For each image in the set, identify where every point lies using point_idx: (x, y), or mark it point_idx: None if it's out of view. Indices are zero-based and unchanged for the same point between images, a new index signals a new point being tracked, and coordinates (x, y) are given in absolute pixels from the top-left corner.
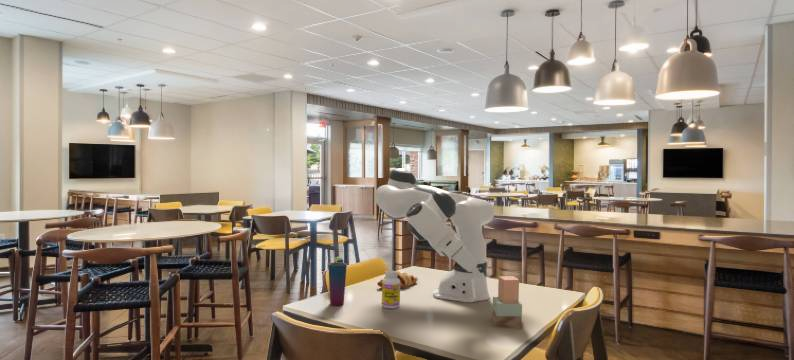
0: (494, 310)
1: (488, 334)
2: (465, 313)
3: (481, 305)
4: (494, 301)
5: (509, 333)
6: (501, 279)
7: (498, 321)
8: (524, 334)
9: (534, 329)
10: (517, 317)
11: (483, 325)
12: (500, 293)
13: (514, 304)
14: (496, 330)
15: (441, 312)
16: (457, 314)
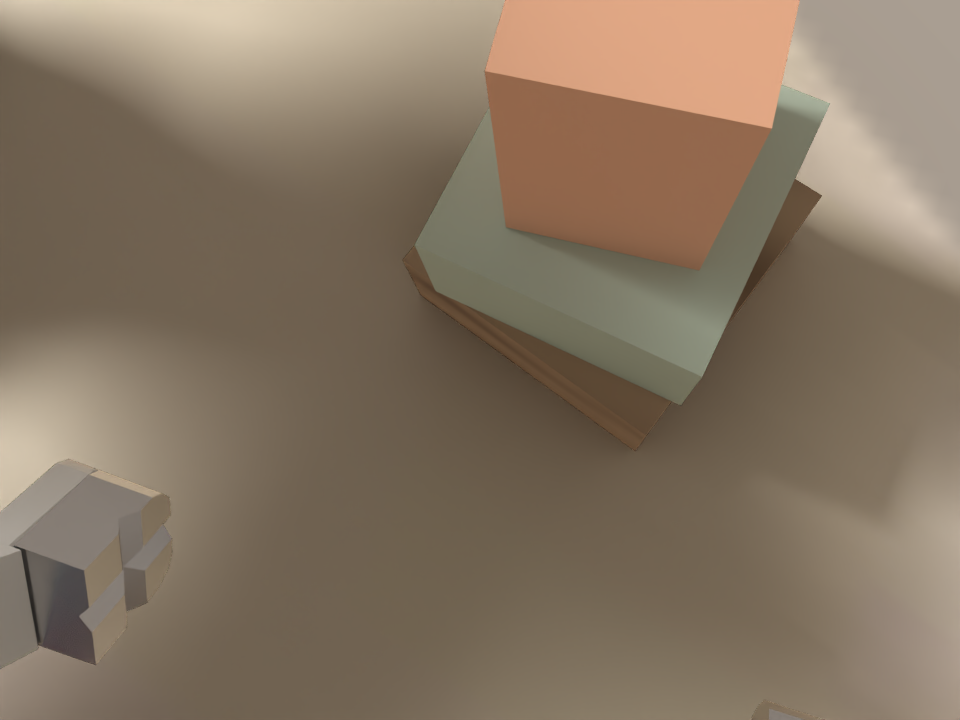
0: (541, 336)
1: (819, 632)
2: (196, 476)
3: (66, 180)
4: (526, 302)
5: (860, 416)
6: (619, 110)
7: None
8: (927, 301)
9: (839, 135)
10: (796, 226)
11: (576, 519)
12: (579, 208)
13: (791, 185)
14: (746, 484)
15: (54, 706)
16: (185, 576)
